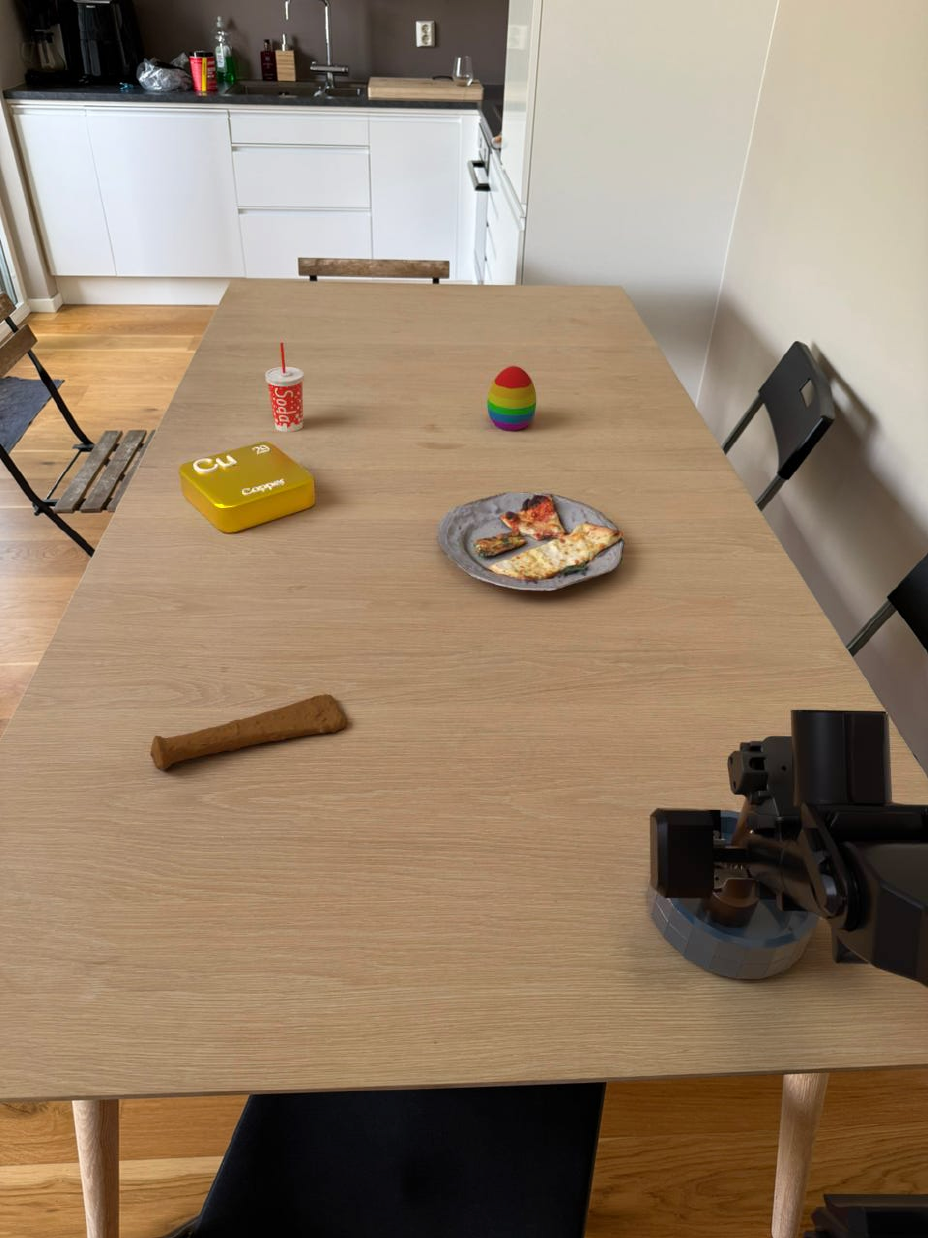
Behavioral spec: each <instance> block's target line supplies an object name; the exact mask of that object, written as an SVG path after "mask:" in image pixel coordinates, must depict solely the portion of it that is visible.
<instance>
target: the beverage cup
mask: <svg viewBox="0 0 928 1238" xmlns="http://www.w3.org/2000/svg"><path fill="white" fill-rule="evenodd" d="M279 346H280V347H279V348H280V357H281V366H278V367H274V368H273V367H272V368H270V369H269V370H266V372H265V373H264V377H265V382H266V383H267V385H268V392H269V398H270V404H271V410H272V416H273V422H274V428H275V429H276V430H277V431H278V432H279V431H280V432H284V433H294V432H296V431H299V430H301V429H302V428H303V427H304V404H303V403H304V399H303V392H304V391H303V381H304V380H305V379H304V378H305V374H304V371H303V370H302V369H301V368H298V367H294V366H286V360H285V350H284V342H279Z"/></svg>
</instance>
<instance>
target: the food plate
mask: <svg viewBox="0 0 928 1238" xmlns="http://www.w3.org/2000/svg"><path fill="white" fill-rule="evenodd" d="M437 530H438V531H437V537H436V538H437V541H438V543H439V546H440V548H441V549H442V551H443V552H444V553H445V555H447V556H448V557H449V558H450V560H452V562H453V563H455V565H457V566H459V568H460V569H462V570H463V571H464V572H466V574H468V575H469V576H471V577H473V578H474V579H477V580H480V581H482V582H487V583H490V584H494V585H496V586H499V587H503V588H509V589H514V590H522V591H523V590H524V591H539V592H541V591H548V592H550V591H551V592H552V591H556V590H558V589H563V588H564V587H565V588H566V587H568V586H570V585H574V584H579V583H581V582H585V581H588V580H589V579H592V578H595V577H599V576H601V575H604V574H605V573H610V572H612V571H614V570H615V569H616V568H618V567H619V566H620V565H621V563H622V561H623V556H624V549H625V544H626V543H625V541H624V539H623V535H624V534H623V532H622V531H621V530H619V528H618V526H616V524H614V522H613V521H611V520H610V519H609V518H608V517H607V516H606V515H605V514H604V513H602V512H601V510H598V509H596V508H594V507H592V506H591V505H589V504H586V503H584V502H581V501H578V500H575V499H571V498H568V497H565V496H561V495H559V494H554V493H552V492H551V493H550V492H549V493H547V492H546V493H545V492H538V493H536V492H531V491H524V492H511V491H510V492H503V493H499V494H495V495H490V496H487V497H485V498H480V499H477V500H474V501H469V502H466V503H464V504H460V505H456V506H454V507H453V508H452V509H450V510H449V511H446V513H445V514H443V516H442V517H441V519H440V522H439V524H438V527H437Z"/></svg>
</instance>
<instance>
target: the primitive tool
mask: <svg viewBox="0 0 928 1238" xmlns="http://www.w3.org/2000/svg"><path fill="white" fill-rule="evenodd" d="M347 726H348V720H347V718H346V717H345V714H344V712H343V710H342V709H341V707H340V706H339V704H338V702H337V701H336V699H335V698H334V696H333V695H331V694H328V693H324V694H319V695H314V696H311V697H309V698H305V699H303V700H301V701H297V702H295V703H292V704H289V705H285V706H281V707H278V708H276V709H272V710H267V711H264V712H261V713H258V714H255V715H252V716H248V717H244V718H241V719H234V720H233V719H232V720H230V721H229V722H227V723H224V724H221V725H217V726H212V727H207V728H202V729H199V730H197V731H193V732H188V733H184V734H179V735H175V736H170V737H169V736H168V737H163V736H160V735H154V737H153V738H152V743H151V746H150V752H149V754H150V757H151V759H152V761H153V764H154V767H155V768H156V769H158V770H159V771H161V772H163V771H166V770H167V769H168V768H170V766H171V765H172V764H174V763H178V762H181V761H184V760H189V759H194V758H197V757H203V756H206V755H212V754H216V753H221V752H225V751H229V752H234V751H236V750H238V749H240V748H244V747H249V746H253V745H259V744H262V743H268V742H269V743H270V742H277V741H279V740H282V741H283V740H287V739H294V738H297V737H304V736H311V735H317V734H318V735H319V734H326V733H328V732H330V733H336V732H337V731H338V730H340V731H341V730H343V729H344V728H346V727H347Z"/></svg>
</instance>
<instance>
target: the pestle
mask: <svg viewBox="0 0 928 1238" xmlns="http://www.w3.org/2000/svg"><path fill="white" fill-rule="evenodd" d="M746 811H754V805H748V803H747V799H746V797H745V798H744V801H743V804H742V807H741V810H740V815H739V818H738V821H737V824H736V827H735V830H734V833H733V836H732V839H731V841H730V844H729V846H747V843H748V840H749V837H750V831H751V830H748V829H747V828H746ZM726 864H727V866H728V868H729V865H730V864H732V865H733V867H734V866H735V864H737V865H738V867H740V864H742V865H743V866H744V868H745V865H746V864H747V863H726ZM723 867H724V866H722V868H723ZM758 901H759V899H758V898H756V897H755V894H754V879H728V880H727V882H726V884H725V885H724V886H723V887H722V892H713V894H712V896H711V899H701V904H702V907H703V909H704V911H705V913H706V914H707V915H708V916H709V918H711V919H712V920H713V921H714V922H716V923H718V924H720V925H722V926H725V927H731V928H736V927H741V926H744V925H746V924H747V923H748V922H749V921H750V920H751V918H752V916H753V914H754V911H755V909H756V906H757V904H758Z"/></svg>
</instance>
